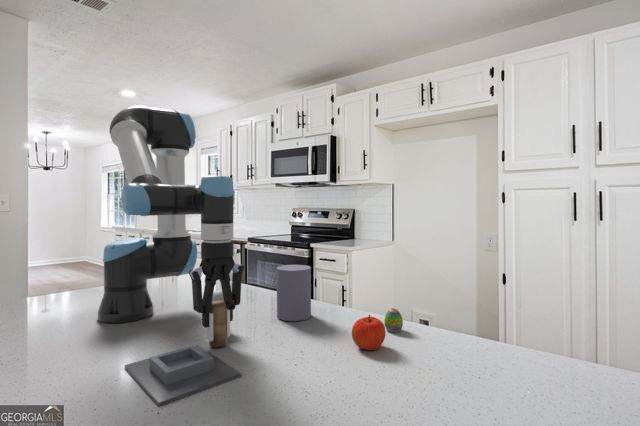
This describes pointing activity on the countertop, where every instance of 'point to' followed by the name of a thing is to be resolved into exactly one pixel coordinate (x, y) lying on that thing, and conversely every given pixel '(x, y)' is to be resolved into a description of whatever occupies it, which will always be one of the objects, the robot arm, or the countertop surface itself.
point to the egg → (393, 321)
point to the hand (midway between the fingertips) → (217, 337)
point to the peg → (218, 323)
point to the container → (293, 292)
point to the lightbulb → (218, 296)
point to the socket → (180, 373)
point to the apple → (368, 333)
